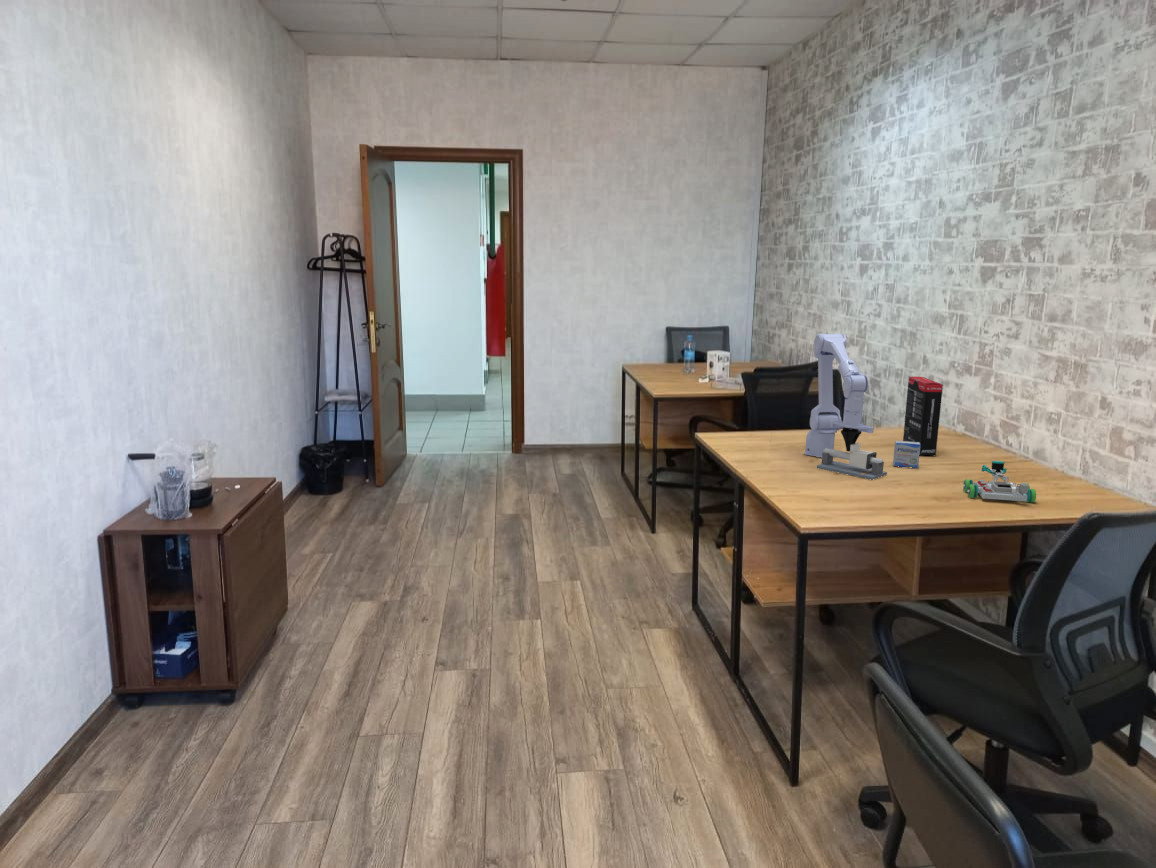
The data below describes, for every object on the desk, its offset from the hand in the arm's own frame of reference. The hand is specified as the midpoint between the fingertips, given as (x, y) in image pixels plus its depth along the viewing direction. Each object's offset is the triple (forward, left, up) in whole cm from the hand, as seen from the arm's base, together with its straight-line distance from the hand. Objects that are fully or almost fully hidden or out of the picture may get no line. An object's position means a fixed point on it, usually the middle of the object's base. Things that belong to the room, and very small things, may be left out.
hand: (849, 450), depth 266 cm
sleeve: (+4, 0, -4) cm, 6 cm away
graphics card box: (+3, +47, -7) cm, 48 cm away
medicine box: (+10, +21, -7) cm, 24 cm away
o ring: (+8, 0, -5) cm, 9 cm away
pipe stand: (+1, 0, -7) cm, 7 cm away
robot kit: (+43, +11, -8) cm, 45 cm away
